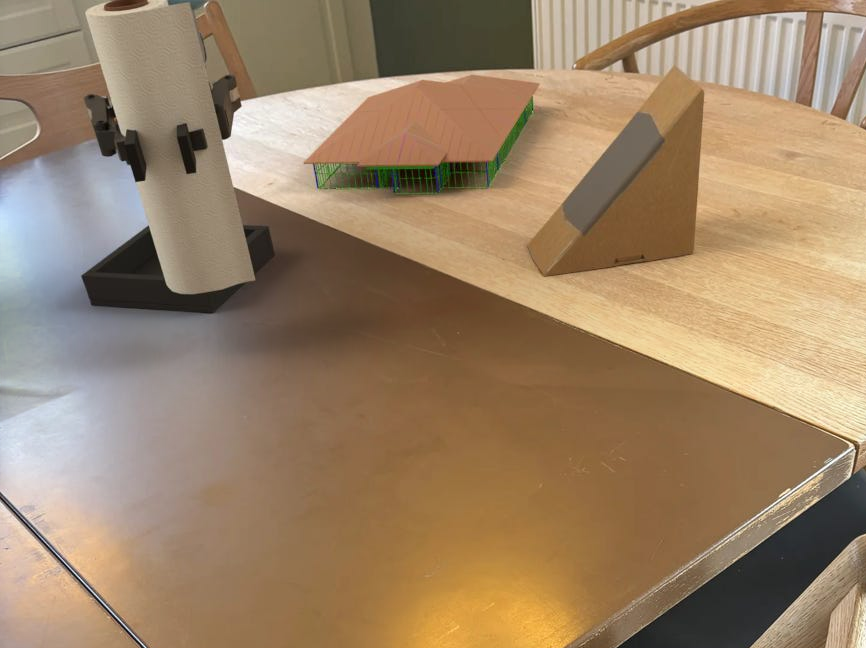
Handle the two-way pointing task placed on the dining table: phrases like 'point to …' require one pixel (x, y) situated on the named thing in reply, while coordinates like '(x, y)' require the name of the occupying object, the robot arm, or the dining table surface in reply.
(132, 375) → the dining table surface
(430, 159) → the house
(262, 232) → the roll dock
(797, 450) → the dining table surface
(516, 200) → the dining table surface
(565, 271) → the sandwich container
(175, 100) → the paper towel roll
